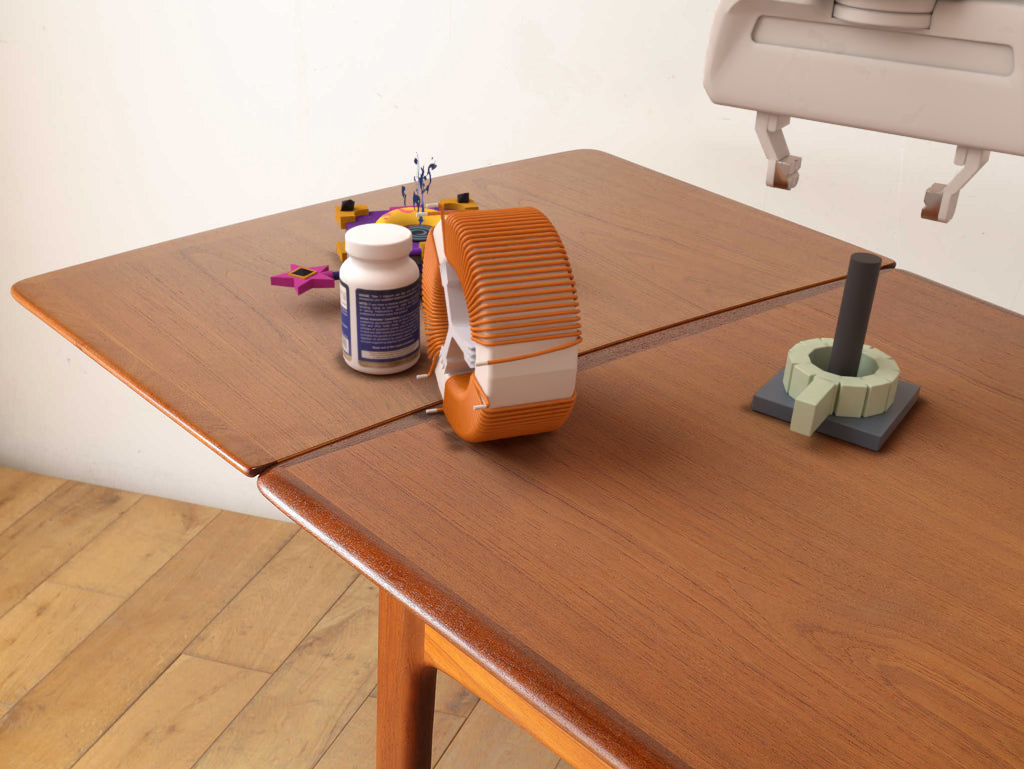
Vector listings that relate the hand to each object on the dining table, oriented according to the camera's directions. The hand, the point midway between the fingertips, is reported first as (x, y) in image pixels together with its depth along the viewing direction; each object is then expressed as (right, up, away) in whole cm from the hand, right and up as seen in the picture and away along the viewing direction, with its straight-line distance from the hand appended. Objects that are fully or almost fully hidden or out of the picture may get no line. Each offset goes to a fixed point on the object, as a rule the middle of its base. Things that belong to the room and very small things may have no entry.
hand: (856, 202), depth 63 cm
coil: (-22, -14, +8) cm, 27 cm away
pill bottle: (-30, -9, +16) cm, 35 cm away
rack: (+3, -12, +12) cm, 17 cm away
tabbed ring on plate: (+1, -12, +10) cm, 16 cm away
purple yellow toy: (-30, -1, +30) cm, 42 cm away
